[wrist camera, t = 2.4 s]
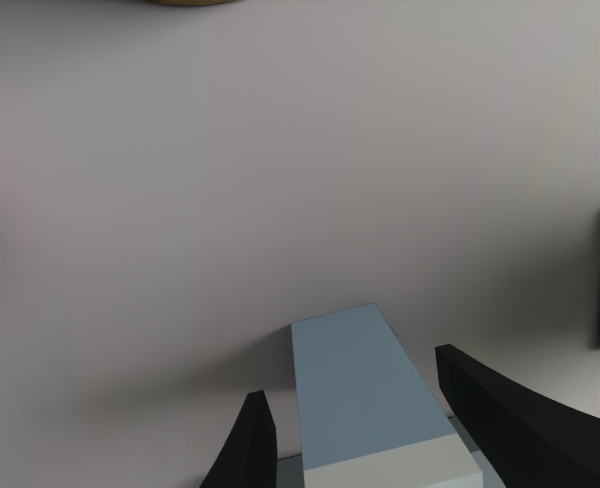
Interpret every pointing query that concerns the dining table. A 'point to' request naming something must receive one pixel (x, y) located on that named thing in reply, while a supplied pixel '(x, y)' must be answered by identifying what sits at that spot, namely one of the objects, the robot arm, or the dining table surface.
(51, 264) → the dining table surface
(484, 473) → the grey socket board
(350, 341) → the plug block
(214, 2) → the wooden container
